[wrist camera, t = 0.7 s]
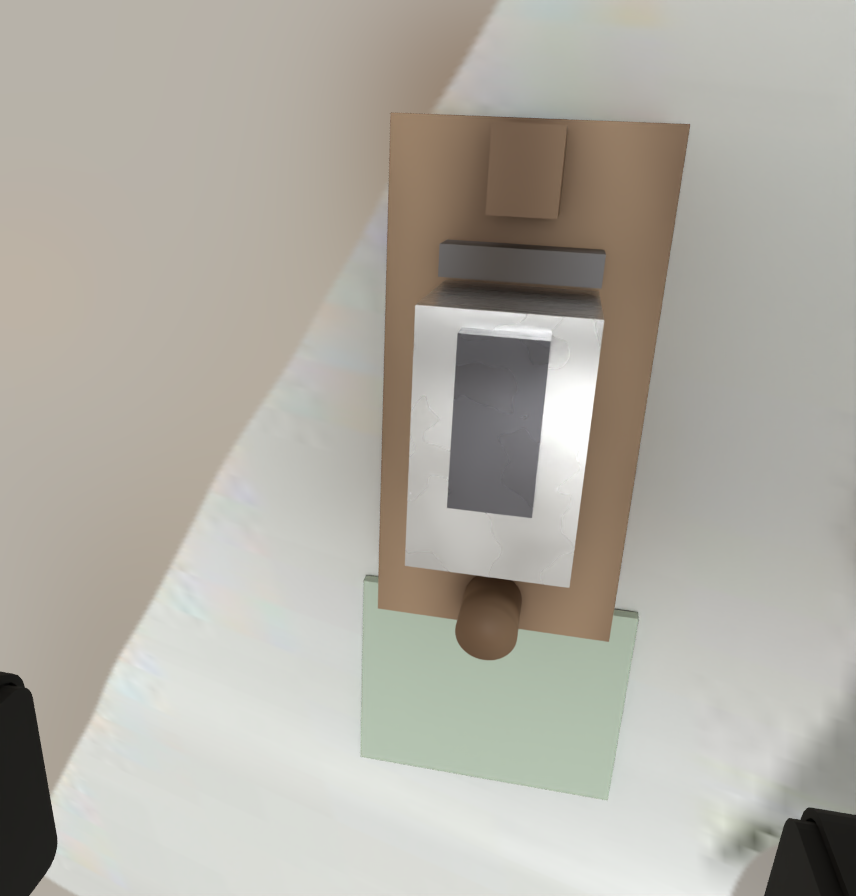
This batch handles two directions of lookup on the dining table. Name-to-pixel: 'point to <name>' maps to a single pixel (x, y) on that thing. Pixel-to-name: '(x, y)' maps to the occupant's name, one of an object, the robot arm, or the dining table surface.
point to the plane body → (539, 265)
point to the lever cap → (500, 428)
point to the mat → (494, 701)
